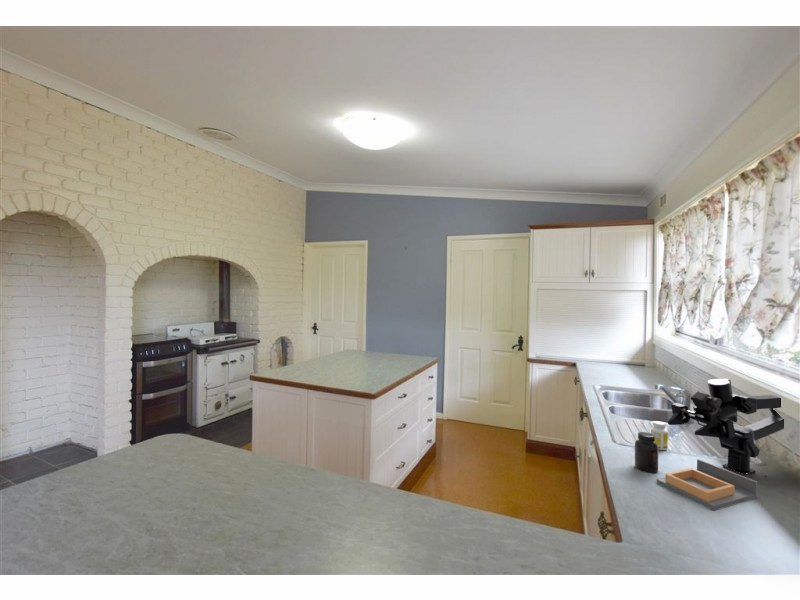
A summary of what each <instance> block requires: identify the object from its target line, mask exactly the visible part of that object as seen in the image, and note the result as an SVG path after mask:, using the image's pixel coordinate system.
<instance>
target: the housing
mask: <svg viewBox="0 0 800 600" xmlns="http://www.w3.org/2000/svg"><path fill="white" fill-rule="evenodd" d="M696 459H697V458H696ZM696 461H697V462H696V469H695V468H693V467H689V468H685V469H679V470H677V471H672V472H668V473H665V475H664V477H660V478H657V479H656V484H658V485H661V486H662V487H664V488H667V489H669V490H670V491H673V492H675V493H676V494H679V495H681V496H684V497H685V498H687V499H689V500H691V501H693V502H695V503H697V504H699V505H701V504H702V505H701V506H703V505H704V506H703V507H705V506H706V507H705V508H707V509H709V508H710V510H711V511H716V510H717V511H718V510H719V509H723V508H727V507H729V506H734V505H736V504H740V503H743V502H747V501H751V500H754V499H757V498H758V485H759V484H758V481H757V480H754V479H751V478H749V477H746V476H743V475H742V474H740V473H739V474H738V473H737V472H736V473H735V472H734V471H732V470H729V469H727V468H724V467H720V466H717V465H715V464H713V463H711V462H707V461H704V460H703V459H699V458H698V459H697V460H696Z"/></svg>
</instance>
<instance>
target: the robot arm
mask: <svg viewBox="0 0 800 600" xmlns="http://www.w3.org/2000/svg"><path fill="white" fill-rule="evenodd" d="M707 384H708V385H707V386H708V390H709V394H708V393H704V392H700V391H696V392H695V393H694V394H693V395H692V396H691V397H690V400H691V401H692V403H693V405H694V406H693V408H692V409H693V411H691V410H689V407H688V406H687V405H684V404H682V403H679V402H675V403H671V405H670V407H671V412H672V415H671V416H670V418H669V419H668V421H667V425H668V426H679V425H685V424H687V423H689V422H690V420H694V421H696V422H697V425H700V426H702V427H699V428H698V429H696V430H695V431H694V435H695V436H701V437H702V436H703V437H713V438H718V440H719V444H720V447H721V448H722V449H726V450H728V451H727V463H725V464H722V468H725V467H726V468H725V469H728V468H729V469H728V470H731V469H732V470H731V471H733V470H735V471H734V472H736V471H737V472H736V473H738V472H740V473H739V474H741V473H743V474H742V475H744V474H745V475H747V474H746V473H749V474H751V473H750V472H753V471H756V470H755V469H753V468H752V467H751V458H753V459H754V458H755V459H756V458H757V457H759V455H760V451H761V450H760V448H759V447H758V446H757V445H756V441H758V440H761V439H762V438H763V439H764V438H765V437H768V436H770V435H773V434H775V433H778V432H780V431H782V430H785V429H784V419H783V418H782V417H781V416H780V415H779V414H778V413H777V412H776V411H775V410H773V408H781V398H780V397H778V396H776V395H777V394H776V393H775V394H776V395H775V394H774V393H772V394H765V395H763V394H761V395H749V396H748V395H744V394H738V393H733V390H732V381H731V379H729V378H726V377H725V378H713V379H712V378H711V379H708V380H707ZM766 409H767V410H768V409H769V412H770V413H771V415H770V416H767V417H765V418H763V419H761V420H758V421H754V422H753V423H750V424H748V425H745V426H743V425H739V424H737V423H738V420H739V419H738V413H741V414H744V415H752V414H754V413H757V411H758V410H766ZM753 473H754V472H753Z"/></svg>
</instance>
